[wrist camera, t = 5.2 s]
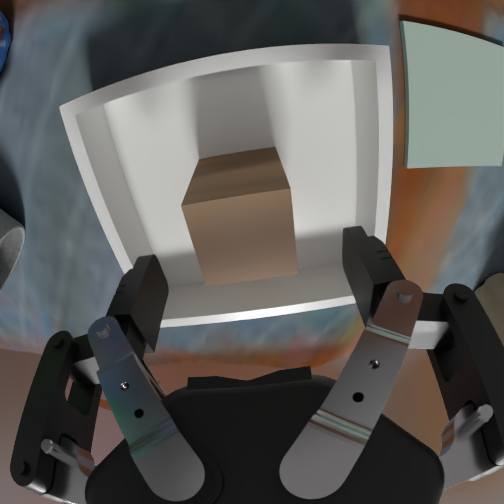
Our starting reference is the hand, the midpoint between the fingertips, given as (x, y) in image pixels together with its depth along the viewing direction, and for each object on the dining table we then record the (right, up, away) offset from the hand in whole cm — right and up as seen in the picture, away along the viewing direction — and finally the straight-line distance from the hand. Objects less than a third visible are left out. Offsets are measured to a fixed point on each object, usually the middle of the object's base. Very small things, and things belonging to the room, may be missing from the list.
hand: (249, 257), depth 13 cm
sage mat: (+15, +11, +2) cm, 18 cm away
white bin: (0, +5, +6) cm, 8 cm away
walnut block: (0, +4, +5) cm, 7 cm away
